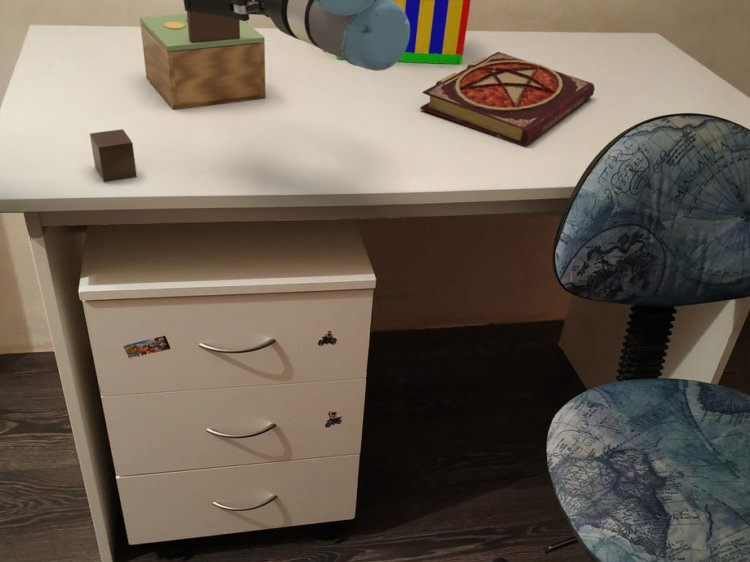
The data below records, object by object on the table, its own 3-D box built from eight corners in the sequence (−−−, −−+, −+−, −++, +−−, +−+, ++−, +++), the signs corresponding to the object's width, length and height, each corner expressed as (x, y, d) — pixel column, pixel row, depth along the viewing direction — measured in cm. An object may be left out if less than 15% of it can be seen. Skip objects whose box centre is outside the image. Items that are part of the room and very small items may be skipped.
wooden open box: (172, 109, 129) (167, 52, 123) (146, 77, 137) (140, 22, 132) (265, 98, 135) (264, 43, 130) (234, 68, 144) (232, 15, 138)
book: (525, 150, 130) (532, 121, 127) (415, 109, 137) (419, 80, 134) (591, 101, 149) (598, 74, 146) (491, 67, 156) (496, 41, 153)
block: (103, 181, 109) (98, 147, 106) (95, 167, 112) (89, 133, 109) (136, 176, 111) (132, 142, 108) (127, 162, 114) (122, 128, 111)
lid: (167, 51, 123) (162, -3, 118) (140, 22, 131) (134, -30, 126) (264, 42, 129) (264, -10, 124) (232, 15, 138) (230, -35, 133)
